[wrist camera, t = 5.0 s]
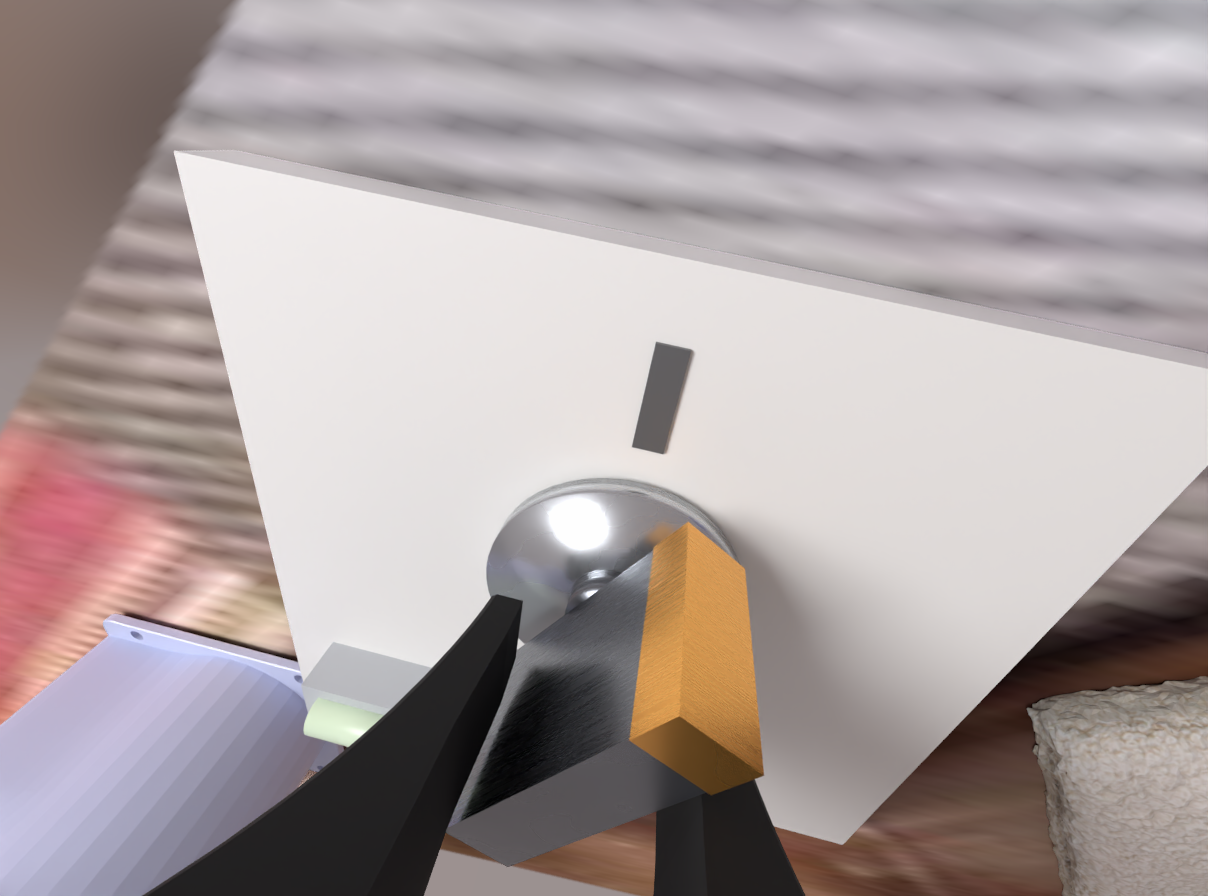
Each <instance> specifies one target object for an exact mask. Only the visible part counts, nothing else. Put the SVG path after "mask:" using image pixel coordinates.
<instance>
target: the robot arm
mask: <svg viewBox="0 0 1208 896" xmlns="http://www.w3.org/2000/svg"><path fill="white" fill-rule="evenodd" d="M522 605H523V601H522V600H518V599H514V598H510V597H506V596H503V595H499V594H496V595H494V596H492V597H491V598H490V599H489V601H488V602H487V604H486V605H485V606H484V608H483V609H482V610H481V612H480V613H479V614H478V616H477V617H476V618H475V619H474V621H473V622H472V623H471V624H470V626H469V627H468V628H467V629H466V630H465V632H464V633H463V634H462V635H461V636H460V637H459V639H458V640H457V641H456V642H455V643H454V644H453V646H452V647H451V648H450V649H449V650H448V651H447V652H446V653H445V654H444V655H443V656H442V658H441V659H440V660H439V661H438V662H437V663H436V664H435V665H434V666H433V667H432V668H431V670H430V671H429V672H428V673H427V674H426V675H425V676H424V677H423V678H422V679H421V680H420V681H419V682H418V683H417V684H416V685H415V686H414V687H413V688H412V689H411V690H410V691H409V692H408V693H407V694H406V695H405V696H404V697H403V698H402V699H401V700H400V701H399V702H398V703H397V704H396V705H395V706H394V707H393V708H391V709H390V710H389V711H388V712H387V713H386V714H385V715H384V716H383V717H382V718H381V719H380V720H379V721H377V722H376V723H375V724H374V725H373V726H372V727H371V728H370V729H369V730H367V731H366V732H365V733H364V734H363V735H362V736H361V737H359V738H358V739H357V740H356V741H355V742H354V743H352V744H351V745H350V746H349V747H348V748H347V749H345V750H344V748H343V745H339V744H335V743H332V742H328V741H325V740H321V739H317V738H314V737H310V736H306V735H305V734H304V723H305V720H306V717H307V715H308V711H307V707H306V703H305V699H304V695H303V691H302V687H301V684H302V683H303V679H302V675H301V671H300V667H299V663H298V662H297V661H293V660H289V659H285V658H282V657H278V656H274V655H270V654H267V653H263V652H259V651H255V650H252V649H248V648H244V647H240V646H237V645H233V644H229V643H225V642H222V641H218V640H214V639H210V638H207V637H203V636H199V635H195V634H192V633H188V632H184V631H180V630H177V629H173V628H169V627H166V626H162V625H158V624H154V623H151V622H147V621H143V620H139V619H136V618H132V617H128V616H124V615H121V614H112V615H110V616H109V617H108V618H107V619H105V620H104V621H103V626H104V628H105V630H106V632H107V634H108V636H107V637H106V638H105V639H104V640H103V641H101V642H100V643H99V644H98V645H97V646H95V647H94V648H93V649H92V650H91V651H89V652H88V653H87V654H86V655H84V656H83V657H82V658H81V659H80V660H78V661H77V662H76V663H75V664H74V665H72V666H71V667H70V668H69V669H68V670H66V671H65V672H64V673H63V674H62V675H60V676H59V677H58V678H57V679H56V680H54V681H53V682H52V683H51V684H49V685H48V686H47V687H46V688H45V689H43V690H42V691H41V692H40V693H39V694H37V695H36V696H35V697H34V698H33V699H31V700H30V701H29V702H28V703H27V704H25V705H24V706H23V707H22V708H21V709H19V710H18V711H17V712H16V713H14V714H13V715H12V716H11V717H10V718H8V719H7V720H6V721H5V722H4V723H2V724H1V725H0V896H424V893H425V890H426V887H427V884H428V882H429V878H430V876H431V873H432V870H433V867H434V864H435V861H436V859H437V856H438V853H439V850H440V847H441V844H442V841H443V838H444V836H445V833H446V830H447V828H448V825H449V823H450V820H451V818H452V815H453V813H454V810H455V808H456V805H457V803H458V801H459V798H460V796H461V794H462V792H463V789H464V787H465V785H466V782H467V780H468V778H469V776H470V773H471V771H472V769H473V766H474V764H475V762H476V760H477V757H478V755H479V753H480V750H481V748H482V746H483V744H484V741H485V739H486V737H487V734H488V732H489V730H490V727H491V725H492V723H493V721H494V718H495V716H496V714H497V711H498V709H499V707H500V704H501V702H502V699H503V696H504V693H505V690H506V687H507V684H508V680H509V677H510V674H511V671H512V668H513V665H514V662H515V659H516V652H517V645H518V637H519V629H520V621H521V613H522ZM309 770H312V771H316V772H317V773H316V774H315V775H314V776H312V777H311V778H310V779H309V780H307V781H306V782H305V783H304V784H302V785H301V786H300V787H298V786H299V785H300V783H301V782H302V780H303V778H304V777H305V775H306V774H307V772H308V771H309ZM653 896H805V894H804V892H803V890H802V887H801V885H800V883H799V881H798V879H797V877H796V875H795V873H794V871H793V869H792V866H791V864H790V862H789V860H788V858H787V855H786V853H785V851H784V849H783V847H782V844H781V842H780V840H779V838H778V835H777V833H776V831H775V828H774V826H773V824H772V821H771V819H770V816H769V814H768V811H767V809H766V806H765V804H764V801H763V799H762V796H761V794H760V791H759V789H758V786H757V784H756V781H755V779H754V780H751V781H749V782H746V783H743V784H740V785H738V786H735V787H732V788H730V789H727V790H724V791H721V792H719V793H716V794H713V795H710V794H708V793H707V792H706V793H704V794H701V795H698V796H696V797H693V798H690V799H688V800H685V801H682V802H680V803H677V804H674V805H672V806H669V807H666V808H664V809H661V810H658V811H657V814H656V861H655V881H654V895H653Z"/></svg>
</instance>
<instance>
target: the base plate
mask: <svg viewBox="0 0 1208 896" xmlns="http://www.w3.org/2000/svg"><path fill="white" fill-rule="evenodd" d="M174 154H175V159H176V163H177V167H178V171H179V175H180V179H181V183H182V187H183V191H184V195H185V200H186V204H187V208H188V212H189V216H190V220H191V224H192V228H193V232H194V236H195V241H196V245H197V249H198V253H199V257H200V261H201V265H202V269H203V273H204V277H205V282H206V286H207V290H208V294H209V298H210V302H211V306H212V310H213V314H214V318H215V323H216V327H217V331H218V335H219V339H220V343H221V347H222V351H223V355H224V359H225V364H226V368H227V372H228V376H229V380H230V384H231V388H232V392H233V396H234V400H235V405H236V409H237V413H238V417H239V421H240V425H241V429H242V433H243V437H244V441H245V446H246V450H247V454H248V458H249V462H250V466H251V470H252V474H253V478H254V482H255V487H256V491H257V495H258V499H259V503H260V507H261V511H262V515H263V519H264V523H265V528H266V532H267V536H268V540H269V544H270V548H271V552H272V556H273V560H274V564H275V569H276V573H277V577H278V581H279V585H280V589H281V593H282V597H283V601H284V605H285V610H286V614H287V618H288V622H289V626H290V630H291V634H292V638H293V642H294V646H295V651H296V655H297V659H298V663H299V667H300V671H301V675H302V679H303V683H302V684H301V687H302V691H303V695H304V699H305V703H306V707H307V711H308V715H307V717H306V720H305V723H304V734H305V735H306V736H310V737H314V738H317V739H321V740H325V741H328V742H332V743H335V744H339V745H343V746H346V747H349V746H350V745H351V744H352V743H354V742H355V741H356V740H357V739H358V738H359V737H361V736H362V735H363V734H364V733H365V732H366V731H367V730H369V729H370V728H371V727H372V726H373V725H374V724H375V723H376V722H377V721H379V720H380V719H381V718H382V717H383V716H384V715H385V714H386V713H387V712H388V711H389V710H390V709H391V708H393V707H394V706H395V705H396V704H397V703H398V702H399V701H400V700H401V699H402V698H403V697H404V696H405V695H406V694H407V693H408V692H409V691H410V690H411V689H412V688H413V687H414V686H415V685H416V684H417V683H418V682H419V681H420V680H421V679H422V678H423V677H424V676H425V675H426V674H427V673H428V672H429V671H430V670H431V668H432V667H433V666H434V665H435V664H436V663H437V662H438V661H439V660H440V659H441V658H442V656H443V655H444V654H445V653H446V652H447V651H448V650H449V649H450V648H451V647H452V646H453V644H454V643H455V642H456V641H457V640H458V639H459V637H460V636H461V635H462V634H463V633H464V632H465V630H466V629H467V628H468V627H469V626H470V624H471V623H472V622H473V621H474V619H475V618H476V617H477V616H478V614H479V613H480V612H481V610H482V609H483V608H484V606H485V605H486V604H487V602H488V601H489V599H490V598H491V597H490V594H489V591H488V585H487V580H486V566H487V561H488V555H489V553H490V550H491V547H492V545H493V543H494V541H495V539H496V537H497V535H498V533H499V531H500V529H501V528H502V526H503V524H504V523H505V521H506V519H507V518H508V516H509V515H510V514H511V513H512V512H513V511H514V510H515V508H516V507H518V506H519V505H520V504H521V503H522V502H524V501H525V500H526V499H527V498H529V497H531V496H533V495H534V494H536V493H538V492H539V491H542V490H544V489H546V488H549V487H551V486H554V485H557V484H561V483H565V482H568V481H574V480H581V479H592V478H609V479H621V480H627V481H632V482H638V483H642V484H646V485H649V486H652V487H655V488H659V489H661V490H664V491H666V492H668V493H670V494H673V495H675V496H677V497H679V498H681V499H682V500H684V501H686V502H688V503H689V504H691V505H693V506H694V507H695V508H697V509H698V510H700V511H701V512H702V513H704V514H705V515H706V516H707V517H708V518H709V519H710V520H712V521H713V522H714V523H715V524H716V525H717V526H718V527H719V528H720V530H721V531H722V532H723V533H724V535H725V536H726V537H727V538H728V540H729V542H730V543H731V545H732V547H733V549H734V550H735V552H736V554H737V557H738V560H739V562H740V565H741V566H743V567H744V568H745V574H746V584H747V595H748V606H749V617H750V628H751V639H752V650H753V660H754V671H755V682H756V693H757V704H758V715H759V725H760V736H761V747H762V758H763V769H764V776H762V777H759V778H757V779H755V781H756V784H757V786H758V789H759V791H760V794H761V796H762V799H763V801H764V804H765V806H766V809H767V811H768V814H769V816H770V819H771V821H772V824H773V826H775V827H779V828H782V829H786V830H790V831H793V832H797V833H801V834H804V835H808V836H812V837H815V838H819V839H823V840H826V841H830V842H834V843H837V844H841V845H843V844H844V843H845V842H846V841H847V840H848V839H849V838H850V837H851V836H852V835H853V833H854V832H855V831H856V830H857V829H858V828H859V827H860V826H861V825H862V824H863V823H864V822H865V821H866V820H867V819H868V818H869V817H870V816H871V815H872V814H873V813H874V812H875V811H876V810H877V809H878V808H879V806H880V805H881V804H882V803H883V802H884V801H885V800H886V799H887V798H888V797H889V796H890V795H891V794H892V793H893V792H894V791H895V790H896V789H897V788H898V787H899V786H900V785H901V784H902V783H903V782H904V780H905V779H906V778H907V777H908V776H909V775H910V774H911V773H912V772H913V771H914V770H915V769H916V768H917V767H918V766H919V765H920V764H921V763H922V762H923V761H924V760H925V759H926V758H927V757H928V756H929V754H930V753H931V752H932V751H933V750H934V749H935V748H936V747H937V746H938V745H939V744H940V743H941V742H942V741H943V740H944V739H945V738H946V737H947V736H948V735H949V734H950V733H951V732H952V731H953V730H954V728H955V727H956V726H957V725H958V724H959V723H960V722H961V721H962V720H963V719H964V718H965V717H966V716H967V715H968V714H969V713H970V712H971V711H972V710H973V709H974V708H975V707H976V706H977V705H978V704H979V702H980V701H981V700H982V699H983V698H984V697H985V696H986V695H987V694H988V693H989V692H990V691H991V690H992V689H993V688H994V687H995V686H996V685H997V684H998V683H999V682H1000V681H1001V680H1002V679H1003V678H1004V677H1005V675H1006V674H1007V673H1008V672H1009V671H1010V670H1011V669H1012V668H1013V667H1014V666H1015V665H1016V664H1017V663H1018V662H1019V661H1020V660H1021V659H1022V658H1023V657H1024V656H1025V655H1026V654H1027V653H1028V652H1029V651H1030V649H1031V648H1032V647H1033V646H1034V645H1035V644H1036V643H1037V642H1038V641H1039V640H1040V639H1041V638H1042V637H1043V636H1044V635H1045V634H1046V633H1047V632H1048V631H1049V630H1050V629H1051V628H1052V627H1053V626H1054V625H1055V623H1056V622H1057V621H1058V620H1059V619H1060V618H1061V617H1062V616H1063V615H1064V614H1065V613H1066V612H1067V611H1068V610H1069V609H1070V608H1071V607H1072V606H1073V605H1074V604H1075V603H1076V602H1077V601H1078V600H1079V599H1080V597H1081V596H1082V595H1083V594H1084V593H1085V592H1086V591H1087V590H1088V589H1089V588H1090V587H1091V586H1092V585H1093V584H1094V583H1095V582H1096V581H1097V580H1098V579H1099V578H1100V577H1101V576H1102V575H1103V574H1104V573H1105V571H1106V570H1107V569H1108V568H1109V567H1110V566H1111V565H1112V564H1113V563H1114V562H1115V561H1116V560H1117V559H1118V558H1119V557H1120V556H1121V555H1122V554H1123V553H1124V552H1125V551H1126V550H1127V549H1128V548H1129V547H1130V546H1131V544H1132V543H1133V542H1134V541H1135V540H1136V539H1137V538H1138V537H1139V536H1140V535H1141V534H1142V533H1143V532H1144V531H1145V530H1146V529H1147V528H1148V527H1149V526H1150V525H1151V524H1152V523H1153V522H1154V521H1155V520H1156V518H1157V517H1158V516H1159V515H1160V514H1161V513H1162V512H1163V511H1164V510H1165V509H1166V508H1167V507H1168V506H1169V505H1170V504H1171V503H1172V502H1173V501H1174V500H1175V499H1176V498H1177V497H1178V496H1179V495H1180V494H1181V492H1182V491H1183V490H1184V489H1185V488H1186V487H1187V486H1188V485H1189V484H1190V483H1191V482H1192V481H1193V480H1194V479H1195V478H1196V477H1197V476H1198V475H1199V474H1200V473H1201V472H1202V471H1203V470H1204V469H1205V468H1206V466H1207V465H1208V353H1205V352H1200V351H1195V350H1190V349H1186V348H1181V347H1176V346H1171V345H1166V344H1162V343H1157V342H1152V341H1147V340H1142V339H1138V338H1133V337H1128V336H1123V335H1119V334H1114V333H1109V332H1104V331H1099V330H1095V329H1090V328H1085V327H1080V326H1076V325H1071V324H1066V323H1061V322H1056V321H1052V320H1047V319H1042V318H1037V317H1033V316H1028V315H1023V314H1018V313H1013V312H1009V311H1004V310H999V309H994V308H989V307H985V306H980V305H975V304H970V303H966V302H961V301H956V300H951V299H946V298H942V297H937V296H932V295H927V294H923V293H918V292H913V291H908V290H903V289H899V288H894V287H889V286H884V285H880V284H875V283H870V282H865V281H860V280H856V279H851V278H846V277H841V276H836V275H832V274H827V273H822V272H817V271H813V270H808V269H803V268H798V267H793V266H789V265H784V264H779V263H774V262H770V261H765V260H760V259H755V258H750V257H746V256H741V255H736V254H731V253H726V252H722V251H717V250H712V249H707V248H703V247H698V246H693V245H688V244H683V243H679V242H674V241H669V240H664V239H660V238H655V237H650V236H645V235H640V234H636V233H631V232H626V231H621V230H617V229H612V228H607V227H602V226H597V225H593V224H588V223H583V222H578V221H573V220H569V219H564V218H559V217H554V216H550V215H545V214H540V213H535V212H530V211H526V210H521V209H516V208H511V207H507V206H502V205H497V204H492V203H487V202H483V201H478V200H473V199H468V198H464V197H459V196H454V195H449V194H444V193H440V192H435V191H430V190H425V189H420V188H416V187H411V186H406V185H401V184H397V183H392V182H387V181H382V180H377V179H373V178H368V177H363V176H358V175H354V174H349V173H344V172H339V171H334V170H330V169H325V168H320V167H315V166H310V165H306V164H301V163H296V162H291V161H287V160H282V159H277V158H272V157H267V156H263V155H258V154H253V153H248V152H244V151H239V150H196V151H174ZM523 645H524V643H523V642H522V641H521V640H520V639H519V638H518V645H517V650H518V649H519V648H520V647H522V646H523Z"/></svg>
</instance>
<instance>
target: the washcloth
mask: <svg viewBox="0 0 1208 896" xmlns="http://www.w3.org/2000/svg"><path fill="white" fill-rule="evenodd" d="M1026 709H1027V711H1028V714H1029V716H1030V717H1031V719H1032V721H1033V728H1034V731H1035V740H1036V742H1037V744H1039V745H1035V746H1034V749H1033V751H1032V752H1033V753H1034V754H1035V755H1037V757H1038V758H1039V759H1038V761H1037V762H1038V764H1039V766H1040V768H1041V769H1042V771H1043V776H1044V781H1045V783H1046V786H1047V787H1046V790H1047V791H1046V792H1044V793H1045V795H1046V799H1047V800H1046V805H1047V807H1046V808H1047V810H1046V815H1047V817H1048V819H1049V820H1050V826H1049V827H1048V830H1049V832H1050V834H1049V838H1050V839H1051V840H1052V841H1053V843H1054V845H1055V846H1054V847H1053V851H1054V852H1055V854H1056V856H1057V859H1058V861H1059V864H1058V865H1059V866H1058V867H1059V877H1060V879H1061V881H1062V883H1063V885H1064V887H1063V891H1062V895H1063V896H1208V677H1198V678H1195V679H1191V680H1184V681H1165V682H1164V683H1163V684H1162V685H1142V686H1128V685H1127V686H1122V687H1111V688H1109V689H1108V690H1106V691H1092V690H1085V691H1079V692H1074V693H1068V694H1061V695H1056V696H1051V697H1048V698H1045V699H1043V700H1040V701H1039V702H1038V703H1034V704H1032V708H1026ZM1037 752H1038V754H1037Z"/></svg>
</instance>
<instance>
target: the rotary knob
mask: <svg viewBox="0 0 1208 896" xmlns="http://www.w3.org/2000/svg"><path fill="white" fill-rule="evenodd" d="M486 580H487V585H488V591H489V594H490V597H492V596H494V595H496V594H499V595H503V596H506V597H510V598H514V599H518V600H522V601H523V605H522V613H521V621H520V629H519V637H518V638H519V639H520V640H521V641H522V642H523V643H524V645H523V646H522V647H520V648H519V649H518V650H517V652H516V659H515V662H514V665H513V668H512V671H511V674H510V677H509V680H508V684H507V687H506V690H505V693H504V696H503V699H502V702H501V704H500V707H499V709H498V711H497V714H496V716H495V718H494V721H493V723H492V725H491V727H490V730H489V732H488V734H487V737H486V739H485V741H484V744H483V746H482V748H481V750H480V753H479V755H478V757H477V760H476V762H475V764H474V766H473V769H472V771H471V773H470V776H469V778H468V780H467V782H466V785H465V787H464V789H463V792H462V794H461V796H460V798H459V801H458V803H457V805H456V808H455V810H454V813H453V815H452V818H451V820H450V823H449V825H448V828H447V830H446V833H447V834H449V835H451V836H453V837H455V838H456V839H458V840H460V841H462V842H464V843H465V844H467V845H469V846H471V847H473V848H474V849H476V850H478V851H480V852H482V853H483V854H485V855H487V856H489V857H491V858H492V859H494V860H496V861H498V862H500V863H501V864H503V865H505V866H507V867H509V866H512V865H514V864H517V863H520V862H522V861H525V860H528V859H530V858H533V857H536V856H538V855H541V854H544V853H546V852H549V851H552V850H554V849H557V848H560V847H562V846H565V845H568V844H570V843H573V842H576V841H578V840H581V839H584V838H586V837H589V836H592V835H594V834H597V833H600V832H602V831H605V830H608V829H610V828H613V827H616V826H618V825H621V824H624V823H626V822H629V821H632V820H634V819H637V818H640V817H642V816H645V815H648V814H650V813H653V812H656V811H658V810H661V809H664V808H666V807H669V806H672V805H674V804H677V803H680V802H682V801H685V800H688V799H690V798H693V797H696V796H698V795H701V794H704V793H706V792H707V793H708V794H710V795H713V794H716V793H719V792H721V791H724V790H727V789H730V788H732V787H735V786H738V785H740V784H743V783H746V782H749V781H751V780H754V779H757V778H759V777H762V776H764V769H763V758H762V747H761V736H760V725H759V715H758V704H757V693H756V682H755V671H754V660H753V650H752V639H751V628H750V617H749V606H748V595H747V584H746V574H745V568H744V567H743V566H741V565H740V562H739V560H738V557H737V554H736V552H735V550H734V549H733V547H732V545H731V543H730V542H729V540H728V538H727V537H726V536H725V535H724V533H723V532H722V531H721V530H720V528H719V527H718V526H717V525H716V524H715V523H714V522H713V521H712V520H710V519H709V518H708V517H707V516H706V515H705V514H704V513H702V512H701V511H700V510H698V509H697V508H695V507H694V506H693V505H691V504H689V503H688V502H686V501H684V500H682V499H681V498H679V497H677V496H675V495H673V494H670V493H668V492H666V491H664V490H661V489H659V488H655V487H652V486H649V485H646V484H642V483H638V482H632V481H627V480H621V479H609V478H592V479H581V480H574V481H568V482H565V483H561V484H557V485H554V486H551V487H549V488H546V489H544V490H542V491H539V492H538V493H536V494H534V495H533V496H531V497H529V498H527V499H526V500H525V501H524V502H522V503H521V504H520V505H519V506H518V507H516V508H515V510H514V511H513V512H512V513H511V514H510V515H509V516H508V518H507V519H506V521H505V523H504V524H503V526H502V528H501V529H500V531H499V533H498V535H497V537H496V539H495V541H494V543H493V545H492V547H491V550H490V553H489V555H488V561H487V566H486Z"/></svg>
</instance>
